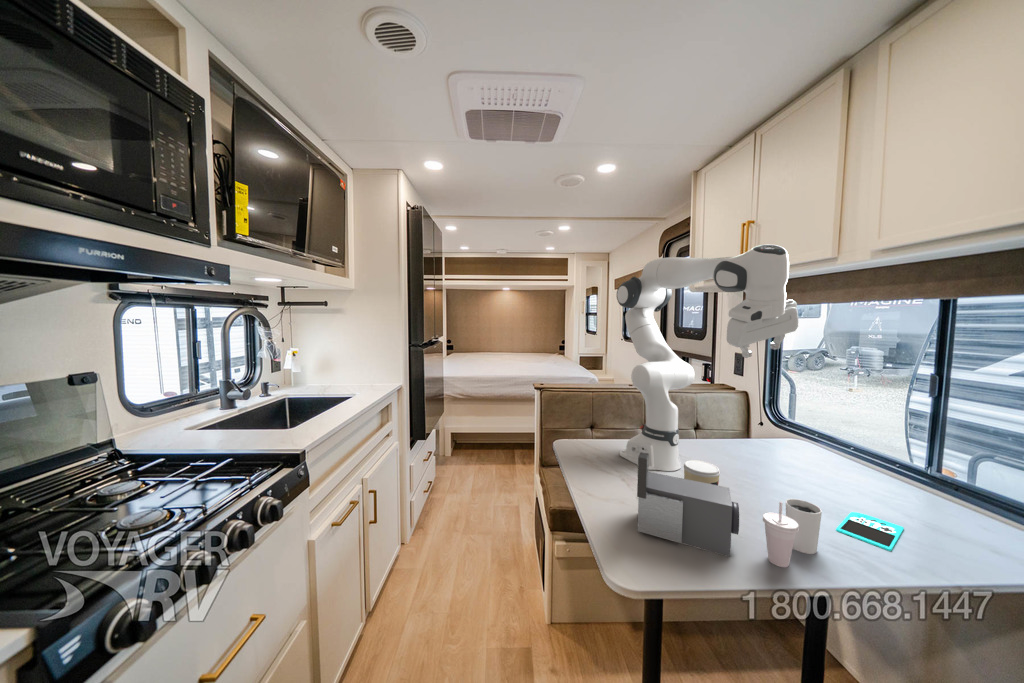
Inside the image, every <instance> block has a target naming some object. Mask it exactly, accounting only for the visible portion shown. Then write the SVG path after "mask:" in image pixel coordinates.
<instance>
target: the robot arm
mask: <svg viewBox="0 0 1024 683" xmlns="http://www.w3.org/2000/svg"><path fill="white" fill-rule="evenodd" d="M789 260H790V259H789V254H788V251H787V249H786V248H785V247H783V246H780V245H776V244H759V245H756V246H753V247H751V249H749V250H747V251H746V252H744V253H741V254H739V255H737V256H726V257H714V258H713V257H712V258H708V257H707V258H705V257H683V256H682V257H680V256H678V257H676V256H670V257H662V258H657V259H654V260H650V261H649V262H647V263H646V264H645V265H644V267H643V269H642V272H641V275H640V276H639V277H636V276H631V278H629V279H628V280H626V281H624V282H622V283H621V284H620V285H619V286H618V288H617V290H616V300H617V303H618V304H619V306H621V307H623V308H626V309H628V310H627V311H626V313H625V316H624V317H625V324H626V327H627V331H628V335H629V337H630V338H631V342H632V343H633V347H634V349H635V351H636V353H637V354H638V355H639V356H640V357H641V358H644V359H645V360H646V362H644V363H641V364H637V365H635V367H633V368H632V371H631V375H630V376H631V382H632V384H633V386H634V387H635V388H636V390H638V391H639V392H640V394H641V395H642V397H643V400H644V403H645V423H643V424H642V425H640V426H639V430H641V432H640V433H637V434H636V435H634V436H633V437H631V438H630V439H629V440H628V441H626V442H627V443H626V446H625V448H624V449H622V450H620V451H619V456H620V457H622V458H624V459H626V460H628V461H629V462H631V463H633V464H635V465H637V466H638V456H639V454H640V452H643V453H648V454H649V468H648V471H649V470H650V471H654V470H656V471H661V472H673V471H679V470H680V469H681V468H682V462H681V459H680V454H679V443H680V442H679V439H680V428H679V408H678V406H677V405H676V404H675V403H674V402H673V401H671V398H670V396H669V391H673V390H681V389H684V388H688V387H690V386H691V385H692V384H693V383H694V381H695V376H696V375H695V374H696V373H695V369H694V368H693V366H692V365H691V364H689V362H686V361H684V360H683V359H681V358H680V357H679V356H678V355H677V354H676V353H675V352H674V351H673V350H672V349H671V347H670V346H669V345H668V344H667V342H666V340H665V338H664V336H663V334H662V332H661V330H660V328H659V326H658V323H657V322H656V320H655V317H654V313H655V312H656V313H657V312H660V311H661V310H662V308H663V307H665V306H666V305H668V303H669V301H670V300H671V298H672V294H673V292H672V291H673V290H677V289H682V288H686V287H687V288H688V287H690V286H693V285H695V284H699V283H701V282H706V281H707V280H711V279H713V280H714V284H715V286H716V287H717V288H718V289H719V290H720V291H722V292H727V293H740V292H744V293H745V299H744V300H743V301H741V302H740V303H739V304H737V305H735V306H734V307H732V308H731V309H730V310H729V311H728V317H729V318H730V319H729V321H728V323H727V327H726V342H727V343H728V345H730V346H733V347H735V348H740V350H741V356H742V357H743V358H745V359H749V358H751V357H752V356H753V355H752V354H753V352H752V351H751V350H749V347H750V345H752V344H755V343H758V342H762V341H766V340H769V339H772V338H773V341H772V342H770V344H769V345H770V347H769V348H770V349H771V350H779V349H780V348H781V343H782V342H783V341H784V339H785V338H786V334H789V333H794V332H796V331H797V329H798V327H799V311H798V308H797V306H798V303H797V302H796V301H795V300H793V299H787V292H786V285H787V283H788V280H789V274H790V272H789V271H790V261H789Z"/></svg>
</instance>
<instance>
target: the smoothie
mask: <svg viewBox="0 0 1024 683" xmlns="http://www.w3.org/2000/svg"><path fill="white" fill-rule="evenodd" d="M778 504H779V505H778V506H779V507H778V513H777V512H766V513H763V515H762V522H763V523H764V530H765V540H766V541H765V542H766V549H767V551H766V552H767V559H768V561H769V562H770V563H772V564H773V565H775V566H777V567H780V568H788V567H789V566H790V562H791V557H792V552H793V544H794V540H795V536H796V532H798V530H799V528H798V523H797V522H796V521H794V520H793V519H791V518H789V517H787V516H786V514H783V501H779V503H778Z"/></svg>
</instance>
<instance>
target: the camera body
mask: <svg viewBox="0 0 1024 683" xmlns="http://www.w3.org/2000/svg"><path fill="white" fill-rule="evenodd" d="M648 493H650V494H655V495H659V496H663V497H668V498H672V499H677V500H681V501H683V519H682V543H681V544H683V545H685V546H689V547H693V548H696V549H701V550H704V551H708V552H710V553H715V554H718V555H722V556H726V557H729V558H730V557H731V546H732V544H731V543H732V534H734V535H739V532H740V508H739V502H736V501H732V497H731V492H730V487H728V486H727V487H726V486H721V485H719V484H718V485H713V484H708V483H703V482H698V481H693V480H688V479H684V478H682V477H678V476H677V477H676V476H674V475H673V476H672V475H667V474H662V473H657V472H651V471H648Z"/></svg>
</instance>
